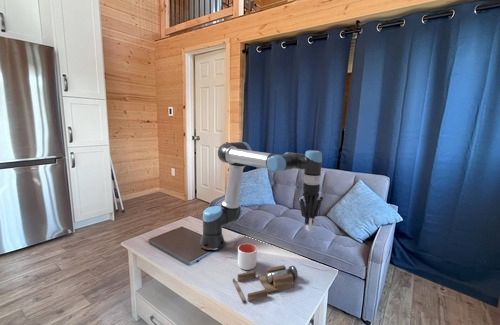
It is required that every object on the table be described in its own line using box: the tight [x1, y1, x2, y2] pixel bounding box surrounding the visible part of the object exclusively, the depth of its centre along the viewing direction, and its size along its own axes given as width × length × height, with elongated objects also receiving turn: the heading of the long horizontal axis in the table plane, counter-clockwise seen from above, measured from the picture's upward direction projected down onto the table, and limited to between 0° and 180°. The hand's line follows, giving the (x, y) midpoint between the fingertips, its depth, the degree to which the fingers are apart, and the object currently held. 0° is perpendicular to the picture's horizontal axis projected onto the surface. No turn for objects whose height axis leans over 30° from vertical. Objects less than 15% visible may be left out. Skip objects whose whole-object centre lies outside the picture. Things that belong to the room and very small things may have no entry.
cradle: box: [232, 264, 295, 304], centre depth 111 cm, size 15×26×5 cm, turn 111°
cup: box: [237, 243, 258, 271], centre depth 126 cm, size 10×10×10 cm
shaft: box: [265, 265, 299, 283], centre depth 114 cm, size 6×15×6 cm, turn 111°
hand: (308, 230), depth 116 cm, fingers closed
